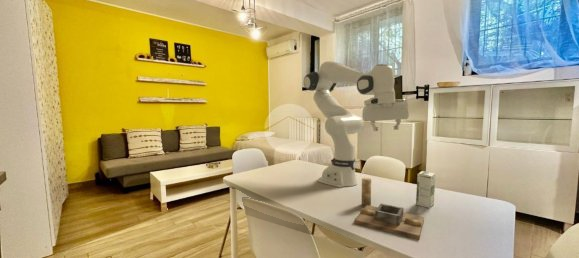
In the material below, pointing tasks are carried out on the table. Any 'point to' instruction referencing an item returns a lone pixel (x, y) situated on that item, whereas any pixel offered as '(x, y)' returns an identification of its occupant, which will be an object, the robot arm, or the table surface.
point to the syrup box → (425, 189)
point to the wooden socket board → (391, 220)
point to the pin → (366, 192)
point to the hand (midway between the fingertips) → (385, 130)
